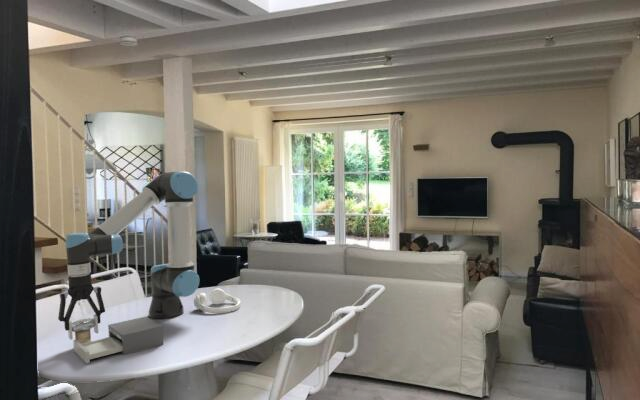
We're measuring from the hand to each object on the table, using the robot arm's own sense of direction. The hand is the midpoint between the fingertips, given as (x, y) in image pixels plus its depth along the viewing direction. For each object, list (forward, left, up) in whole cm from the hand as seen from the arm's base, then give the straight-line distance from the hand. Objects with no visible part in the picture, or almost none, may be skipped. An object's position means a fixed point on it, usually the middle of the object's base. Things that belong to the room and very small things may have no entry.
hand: (83, 335), depth 168 cm
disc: (0, 0, +3) cm, 3 cm away
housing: (+12, +15, -4) cm, 19 cm away
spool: (0, 0, -4) cm, 4 cm away
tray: (+12, +3, -4) cm, 13 cm away
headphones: (-8, +61, -5) cm, 61 cm away
